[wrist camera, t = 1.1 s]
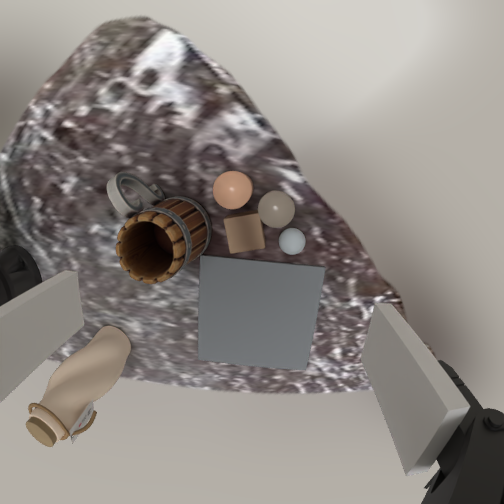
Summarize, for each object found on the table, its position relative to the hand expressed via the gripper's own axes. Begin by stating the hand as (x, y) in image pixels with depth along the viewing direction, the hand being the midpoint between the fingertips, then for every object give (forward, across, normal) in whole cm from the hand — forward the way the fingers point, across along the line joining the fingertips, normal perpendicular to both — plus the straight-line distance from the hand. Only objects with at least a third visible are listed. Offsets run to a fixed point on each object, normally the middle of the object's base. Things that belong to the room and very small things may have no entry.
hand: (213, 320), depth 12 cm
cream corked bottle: (+35, -26, -27) cm, 51 cm away
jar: (+36, +3, +2) cm, 36 cm away
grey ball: (+34, +6, -3) cm, 34 cm away
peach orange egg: (+36, -3, +4) cm, 36 cm away
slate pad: (+36, +1, -17) cm, 40 cm away
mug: (+36, -13, -1) cm, 38 cm away
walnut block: (+36, -2, -2) cm, 36 cm away
